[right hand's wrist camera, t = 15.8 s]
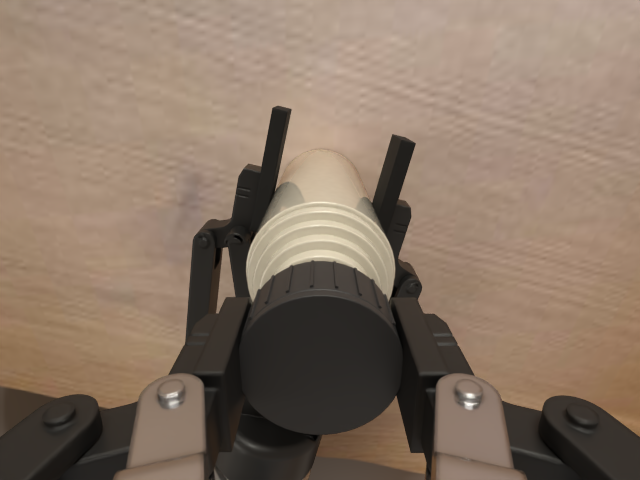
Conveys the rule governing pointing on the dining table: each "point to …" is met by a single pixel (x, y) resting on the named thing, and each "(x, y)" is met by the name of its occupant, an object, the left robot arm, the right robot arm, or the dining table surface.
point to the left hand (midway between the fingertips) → (343, 124)
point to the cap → (320, 349)
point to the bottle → (320, 223)
